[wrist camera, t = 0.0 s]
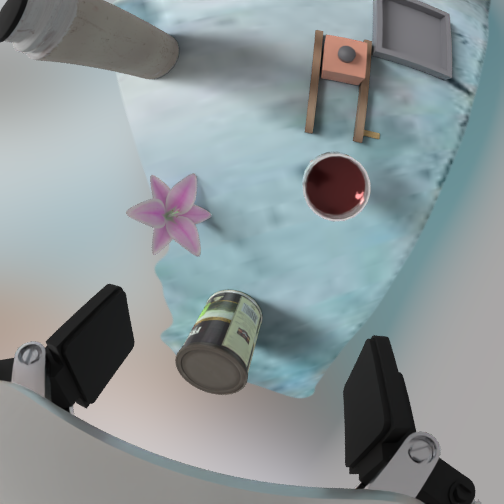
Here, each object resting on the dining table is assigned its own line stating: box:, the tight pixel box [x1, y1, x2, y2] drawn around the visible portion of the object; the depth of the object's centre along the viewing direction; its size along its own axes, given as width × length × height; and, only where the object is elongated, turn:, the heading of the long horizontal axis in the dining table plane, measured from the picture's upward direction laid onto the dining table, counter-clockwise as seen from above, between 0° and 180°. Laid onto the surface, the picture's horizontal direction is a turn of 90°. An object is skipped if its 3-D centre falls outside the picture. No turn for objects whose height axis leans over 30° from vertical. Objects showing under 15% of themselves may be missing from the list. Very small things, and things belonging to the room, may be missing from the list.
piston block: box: [321, 35, 367, 85], centre depth 27 cm, size 5×5×6 cm
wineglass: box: [302, 152, 370, 221], centre depth 31 cm, size 7×7×12 cm
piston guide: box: [305, 30, 380, 143], centre depth 30 cm, size 15×10×2 cm
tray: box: [372, 0, 452, 80], centre depth 24 cm, size 12×12×2 cm
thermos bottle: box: [0, 0, 179, 79], centre depth 20 cm, size 8×8×28 cm
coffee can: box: [176, 290, 262, 395], centre depth 42 cm, size 10×10×14 cm
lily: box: [126, 173, 212, 256], centre depth 39 cm, size 12×12×10 cm
